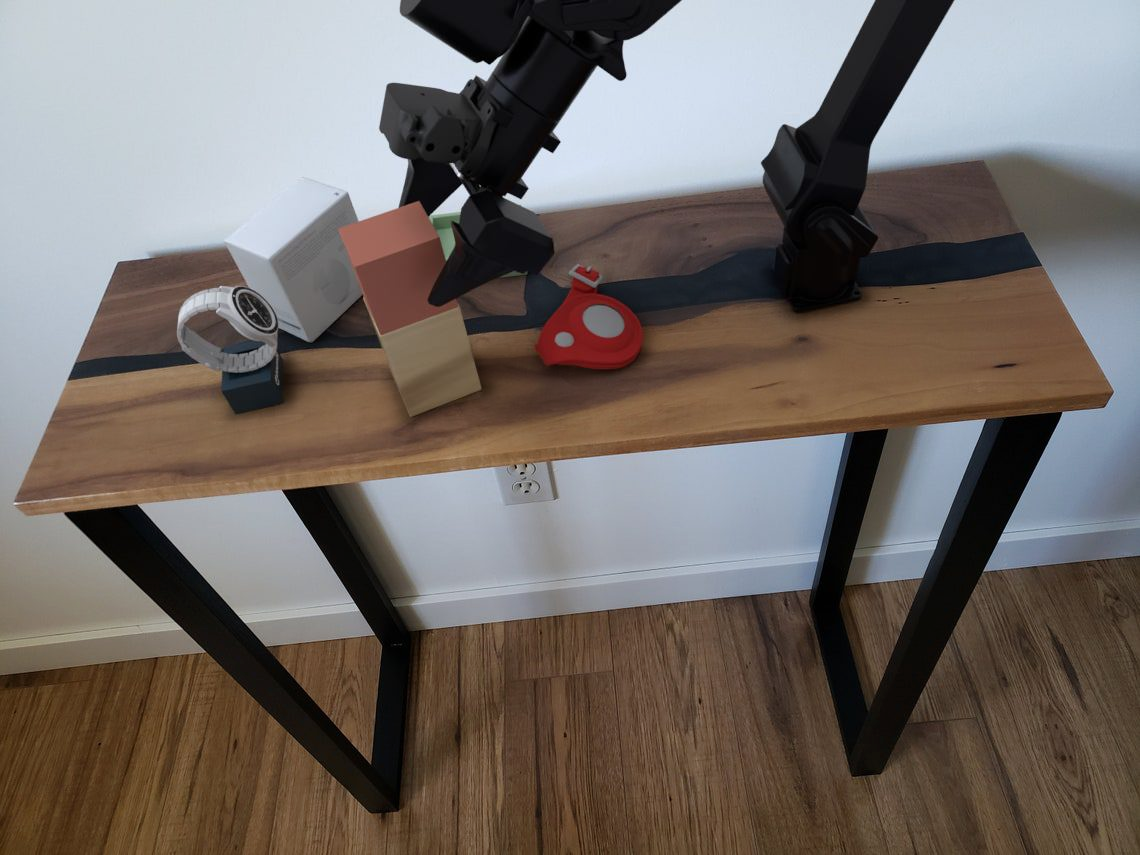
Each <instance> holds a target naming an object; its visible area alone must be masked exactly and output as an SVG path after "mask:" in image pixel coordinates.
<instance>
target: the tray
mask: <svg viewBox="0 0 1140 855" xmlns="http://www.w3.org/2000/svg"><path fill="white" fill-rule="evenodd" d="M519 205H520V206H522V204H519ZM460 213H461V211H456V212H447V213H441V214H431V215H430V216H429V219H430V221H431V223H432V224H433V226H434V228H435V230H436V232H437V233H438V235H439V237H440V240H441V244H442V248H443V252H444V255H445V259H446V261H447V260H448V258H449V256H450V254H451V252H452V250H453V249H454V247H455V239H454V235H453V230H452V226H451V221H454V222H457V223H459V220H460ZM528 273H529V272H526V273H525V274H521V273H518V272H516V271H513V272H511V273H508V274H506V275H503V276H501V277H498V278H497V279H500V278H508V277H519V276H525V275H526V276H527V275H528Z"/></svg>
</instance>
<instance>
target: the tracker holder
mask: <svg viewBox="0 0 1140 855" xmlns="http://www.w3.org/2000/svg"><path fill="white" fill-rule="evenodd" d="M568 275H569V276H571V277H572V279H571V288H570V290H569V292H568V294H567V296H566V298H564V301H563V302H562V304H561V305H560V306H559V307H558V308H557V309H556V311H554V312H553V314H552V315H551V316H550V318H549V319H548V320H547V321H546V322H545V324H544V325H543V327H542V328H541V331H540V334H539V336H538V341H537V343H536V344H535V345H534V346H533V348H534V350H535V351H536V353H537V354H538V355H539V357H540V359H541V360H542V361H543V363H544V365H545V366H552V365H560V366H577V367H581V368H586V369H595V370H616V369H617V370H618V369H620V368H621V369H622V368H624V367H627V366H628V365H630V364H631V363H632V362H633V361H635V359H636V358H637V357H638V355H639V353H640V351H641V347H642V345H643V342H644V332H643V328H642V325H641V322H640V320H639V319H638V317H637V316H636V315H635V313H634V312H633V311H632V310H631V309H630V308H629V307H628V306H626V305H625V304H624V303H622V302H621V301H619V300H618V299H616V298H613V297H610V296H608V295H605V294H600V293H598V286H599V284H600V283H601V282H602V281H603V279H604V277H603V276H602V275H601V274H600V271H597V270H595V269H593V266H592V265H589V266H587V267H585V266H584V265H581V264H580V263H576V264H575V265H574V267H573V268H571V269H570V270H569V271H568Z"/></svg>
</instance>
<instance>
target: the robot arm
mask: <svg viewBox="0 0 1140 855" xmlns="http://www.w3.org/2000/svg"><path fill="white" fill-rule="evenodd" d="M682 1H683V0H400V2H399V14H400V15H401V16H402V17H403V18H405V19H406V20H407V21H409V22H411V23H412V24H414V25H416V26H417V27H419V28H420V29H422V30H423V31H424V32H426V33H427V34H429V35H431V36H433V37H434V38H435V39H437V40H438V41H440V42H441V43H443V44H445V45H446V46H447V47H450V49H452V50H454V51H455V52H457V53H459V54H460V55H461V56H463V57H465V58H466V59H468V60H469V61H470V62H472V63H475V64H479V63H482V62H484V63H485V64H487V65H488V66H490V65H491V64H494V63H495V61H496V60H497V59H499V58H500V59H499V61H498V62H497V64H496V65H495V67H494V68H493V71H492V72H491V74H490V75H489V77H488V79H487V80H485V79H483V78H481V77H480V76H478V75H475V76H474V78H473V79H472V78H470V79H468V80H467V82H466V83H465V85H464V86H463V89H462V90H460V92H459V93H458V92H453V91H448V90H446V89H442V88H437V87H432V86H431V87H430V86H424V85H417V84H410V83H409V84H408V83H402V82H389V83H387V84H386V87H385V92H384V98H383V103H382V107H381V108H382V109H381V115H380V120H379V126H378V130H379V132H380V134H383V135H384V137H385V139H386V141H387V143H388V148H389V150H390V151H391V153H392V154H393V155H395V156H396V157H398V158H401V159H404V160H407V169H406V173H405V179H404V184H403V187H402V192H401V195H400V199H399V203H398V206H397V208H400V207H403V206H406V205H408V204H411V203H414V202H417V201H420V203H421V205H422V206H423V208H424V210H425V212H426V214H427V215H428V217H429V216H431V215H433V213H434V212H436V210H437V209H438V208H440V206H441V205H442V204H444V203H445V202H446V201H447V200H448V199H449V198H450V197H451V196H452V195H453V194H454V193H455V192H456V191H457V190H459V188H460V187H461V186H463V187H464V189H465V191H466V192H467V193H468V195H469V196H468V197H467V199H466V200H465V202H464V203H463V205H462V207H461V208H460V212H461V213H460V220H459V223H457V222H454V221H451V226H452V230H453V235H454V239H455V247H454V249H453V250H452V252H451V254H450V256H449V258H448V260H447V261H446V263H445V265H444V267H443V269H442V271H441V272H440V274H439V276H438V278H437V280H436V282H435V283H434V285H433V287H432V290H431V292H430V294H429V297H428V299H427V301H428V303H429V304H430V305H433V306H436V307H441V306H443V305H445V304H447V303H448V302H450V301H452V300H454V299H456V300H457V299H458V298H460V297H463V296H464V295H466V294H467V293H469V292H472V291H474V290H475V289H477V288H479V287H481V286H483V285H485V284H487V283H490V282H491V281H493V280H497V279H499V278H498V277H501V276H503V275H506V274H508V273H511V272H513V271H516V272H518V273H521V274H525V273H526V272H527V273H530V274H532V275H534V276H539V275H540V274H541V273H542V271H543V270H544V269H545V267H547V265H548V263H549V262H550V260H551V259H552V258H553V257H554V255H555V245H554V238H553V236H551V234H550V233H549V231H548V229H547V228H546V226H544V224H543V223H542V221H541V219H540V218H539V217H538V215H537V213H536V212H535V211H532V210H530V209H528V208H526V207H524V206H522V205H521V204H519V203H518V204H517V203H516V202H514V201H512V200H509V199H507V198H505V197H506V196H507V194H508V195H511V196H513V197H515V198H517V199H519V200H522V199H523V198H524V197H525V195H526V193H527V192H528V191H529V189H530V188H529V187H528V185H527V184H526V182H525V181H524V179H523V176H524V175H525V174H526V172H527V171H528V169H529V168H530V166H531V165H532V164H533V162H534V160H535V159H536V157H537V156H538V155H539V153H540V152H541V149H544V150H546V151H547V152H550V153H552V154H554V153H555V152H556V150H557V148H558V147H559V146H560V145H561V142H562V141H561V140H560V139H559V137H558V136H557V135H556V134H555V132H554V131H555V129H556V128H557V126H558V125H559V124H560V122H561V121H562V119H563V118H564V116H565V115H566V113H567V112H568V110H569V109H570V107H571V106H572V104H573V103H574V101H575V100H576V99H577V97H578V95H579V94H580V93H581V91H582V90H583V89H584V87H585V85H586V84H587V83H588V81H589V80H590V78H591V77H592V75H593V74H594V72H595V71H596V69H597V67H599V68H600V69H601V70H603V71H604V72H606V73H607V74H609V75H610V76H611V77H613V78H614V79H615V80H617V81H618V82H623V81H625V80H626V79H627V69H626V65H625V60H624V54H623V53H624V43H625V41H629V40H632V39H634V38H637V37H638V36H641V35H643V34H644V33H645V32H646V31H648V30H649V29H650V28H652V27H653V26H654V25H655V24H656V23H657V22H658V21H660V20H661V19H662V18H663V17H664V16H666V15H667V14H668V13H669V12H670V11H672V10H673V9H674V8H675V7H676V6H677V5H679V4H680V3H681V2H682ZM954 2H955V0H874V2H873V4H872V6H871V7H870V10H869V11H868V14H867V15H866V17H865V19H864V21H863V23H862V25H861V27H860V29H859V31H858V33H857V35H856V37H855V39H854V41H853V43H852V44H851V46H850V48H849V50H848V52H847V54H846V56H845V58H844V60H843V61H842V64H841V66H840V67H839V69H838V72H837V74H836V75H835V77H834V79H833V81H832V83H831V85H830V87H829V89H828V91H827V93H826V94H825V96H824V99H823V101H822V103H821V105H820V107H819V108H818V110H816V112H815V114H814V115H813V116H812V117H810V118H809V119H807V120H806V121H804V122H803V123H802V124H800V125H799V126H797V127H794V126H792V125H789V124H786V123H784V124H782V125H781V126H780V127H779V129H778V130H777V133H776V135H775V136H776V137H775V139H774V143H773V145H772V147H771V149H770V151H769V152H768V153H767V155H766V156H765V157H764V158H763V159H762V160H761V161H760V165H761V167H762V169H763V175H762V185H763V189H764V190H765V193H766V194H767V196H768V198H769V201H770V202H771V204H772V206H773V208H774V210H775V212H776V214H777V215H778V216H777V217H778V218H779V220H780V221H781V223H782V226H783V233H782V240H781V242H780V243H777V245H776V249H775V258H774V263H773V264H771V273H772V279H773V281H774V283H775V285H776V286H777V289H778V290H779V292H780V294H781V295H782V296H783V297H785V299H786V301H787V303H788V305H789V307H790V309H791V311H792V312H793V313H795V314H796V313H797V314H801V313H804V312H809V311H815V310H820V309H823V308H829V307H833V306H838V305H843V304H848V303H852V302H856V301H860V300H862V298H863V291H862V290H861V288H860V286H859V285H858V283H857V282H856V280H857V275H858V271H859V267H860V262H861V259H863V258H867V257H868V256H869V255H870V253H871V251H872V250H873V248H874V247H875V245H876V243H877V242H878V240H879V236H878V234H877V232H876V231H875V229H874V227H873V225H872V224H871V222H870V221H869V219H868V217H867V216H866V214H865V213H864V212H863V209H862V208H861V206H860V202H861V200H862V198H863V195H864V193H865V190H866V187H867V181H868V172H869V171H868V170H869V162H870V155H871V154H870V153H871V147H872V144H873V142H874V141H875V138H876V136H877V135H878V133H879V131H880V130H881V128H882V126H883V124H884V122H885V121H886V119H887V117H888V116H889V114H890V113H891V110H892V109H893V108H894V106H895V103H897V100H898V99H899V97H900V95H901V94H902V92H903V90H904V88H905V87H906V85H907V83H908V82H909V80H910V78H911V77H912V75H913V73H914V71H915V70H916V68H917V67H918V64H919V63H920V61H921V59H922V57H923V55H924V54H925V52H926V51H927V49H928V47H929V46H930V44H931V42H932V40H933V38H934V37H935V35H936V33H937V31H938V30H939V28H940V26H941V25H942V23H943V21H944V19H945V18H946V16H947V14H948V13H949V11H950V9H951V7H952V6H953V4H954ZM520 205H521V206H520Z"/></svg>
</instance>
